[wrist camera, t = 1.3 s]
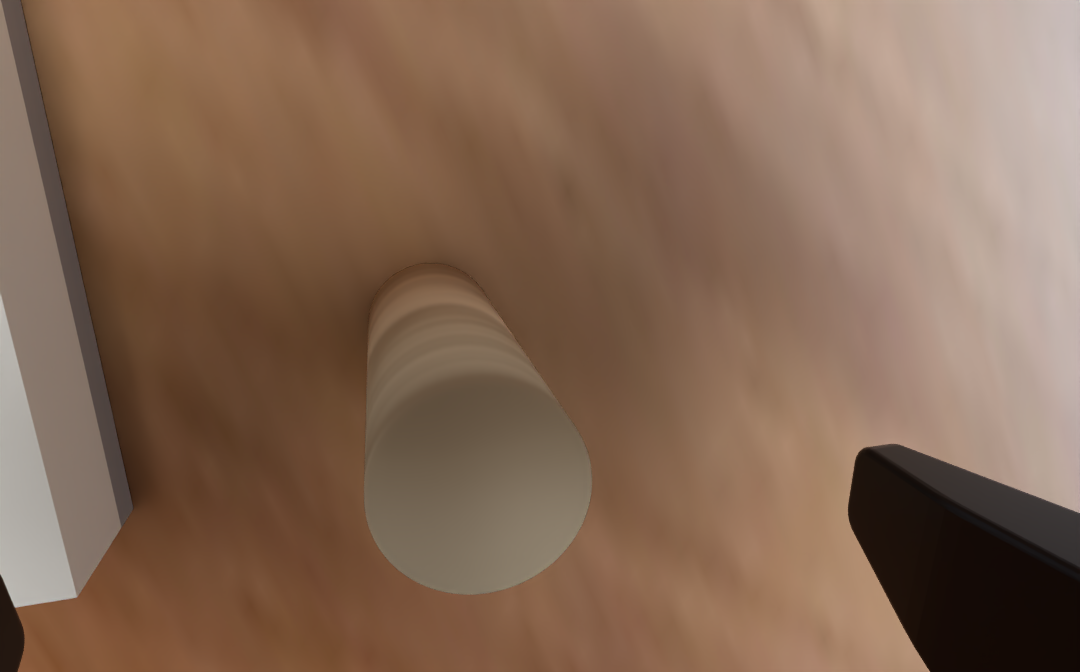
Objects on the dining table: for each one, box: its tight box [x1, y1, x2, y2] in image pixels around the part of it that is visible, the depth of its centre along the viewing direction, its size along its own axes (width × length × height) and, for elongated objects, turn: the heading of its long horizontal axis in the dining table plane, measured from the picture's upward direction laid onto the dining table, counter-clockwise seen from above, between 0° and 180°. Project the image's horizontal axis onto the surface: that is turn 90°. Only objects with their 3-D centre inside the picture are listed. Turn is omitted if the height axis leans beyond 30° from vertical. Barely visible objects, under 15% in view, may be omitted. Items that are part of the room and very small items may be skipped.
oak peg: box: [364, 263, 592, 594], centre depth 16 cm, size 3×3×10 cm
